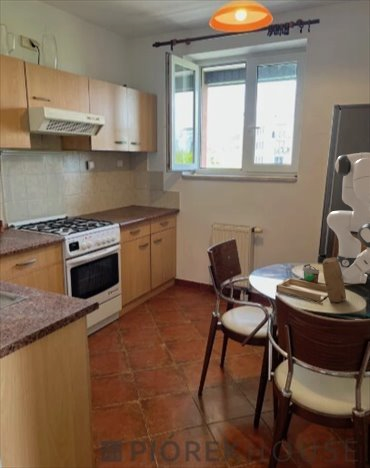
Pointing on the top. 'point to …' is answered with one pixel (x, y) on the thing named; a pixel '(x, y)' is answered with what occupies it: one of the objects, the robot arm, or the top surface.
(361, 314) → the top surface
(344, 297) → the block
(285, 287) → the wooden tray
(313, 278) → the food container
